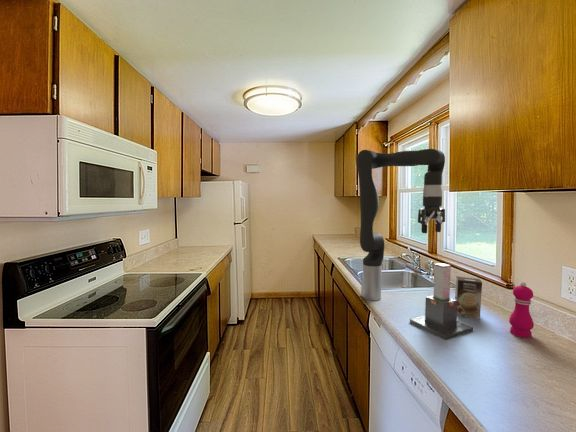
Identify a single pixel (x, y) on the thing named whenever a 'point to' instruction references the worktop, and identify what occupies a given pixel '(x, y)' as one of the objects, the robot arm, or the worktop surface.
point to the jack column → (442, 281)
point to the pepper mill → (521, 312)
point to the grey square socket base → (441, 319)
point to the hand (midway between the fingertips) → (431, 232)
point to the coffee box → (468, 297)
